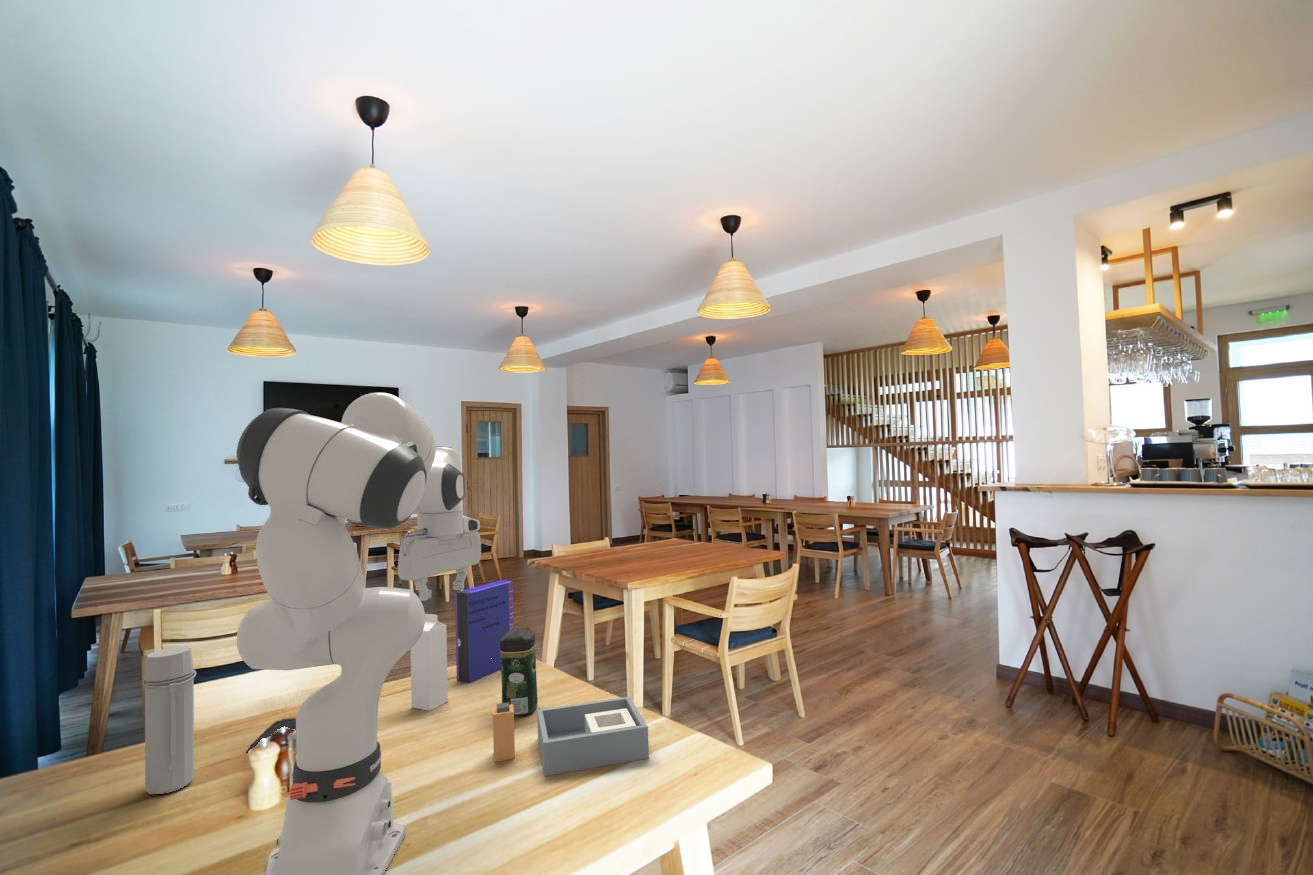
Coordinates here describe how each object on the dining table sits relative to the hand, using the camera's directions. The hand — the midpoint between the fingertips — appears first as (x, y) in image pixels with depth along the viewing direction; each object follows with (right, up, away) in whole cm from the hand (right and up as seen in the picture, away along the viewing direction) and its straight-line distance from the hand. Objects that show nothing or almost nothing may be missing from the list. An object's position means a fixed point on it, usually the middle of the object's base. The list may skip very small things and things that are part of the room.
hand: (442, 594), depth 122 cm
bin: (+30, -31, 0) cm, 43 cm away
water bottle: (-47, -34, -10) cm, 59 cm away
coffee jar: (+11, -33, +20) cm, 40 cm away
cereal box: (-4, -34, +48) cm, 59 cm away
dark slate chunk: (-32, -34, +9) cm, 48 cm away
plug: (+13, -32, -2) cm, 34 cm away
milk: (-12, -34, +25) cm, 44 cm away
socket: (+34, -30, +1) cm, 45 cm away
